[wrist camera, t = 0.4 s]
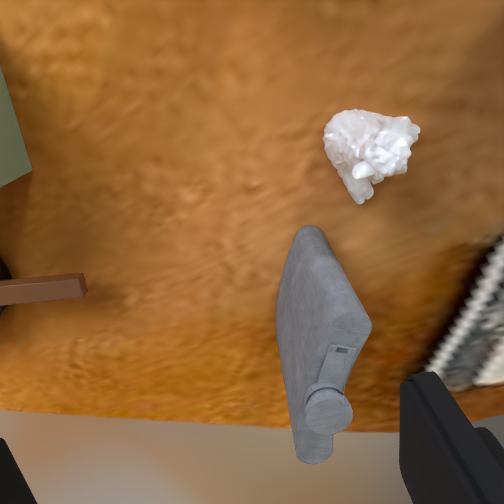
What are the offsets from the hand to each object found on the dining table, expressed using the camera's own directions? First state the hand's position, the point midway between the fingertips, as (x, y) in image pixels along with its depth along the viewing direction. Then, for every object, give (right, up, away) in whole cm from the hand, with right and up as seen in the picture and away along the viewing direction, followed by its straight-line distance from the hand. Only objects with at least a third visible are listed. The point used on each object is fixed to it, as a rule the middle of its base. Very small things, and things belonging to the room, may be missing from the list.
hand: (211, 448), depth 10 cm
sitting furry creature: (+12, +16, +33) cm, 38 cm away
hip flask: (+6, +1, +39) cm, 40 cm away
